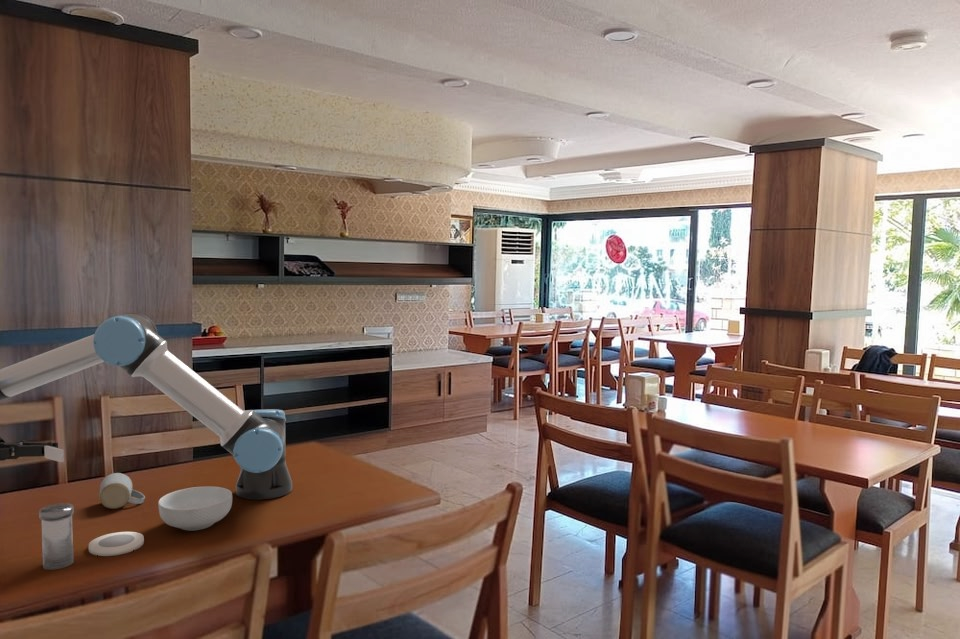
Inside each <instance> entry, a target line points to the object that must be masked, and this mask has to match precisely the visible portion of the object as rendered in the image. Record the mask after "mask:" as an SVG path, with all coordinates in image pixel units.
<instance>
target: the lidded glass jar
mask: <svg viewBox="0 0 960 639" xmlns="http://www.w3.org/2000/svg"><path fill="white" fill-rule="evenodd" d="M74 507H75V506H74V505H73V504H71V503H55V504H51V505H47V506H44V507H41V508H40V509H39V510H38V516H39V519H40V520H41V545H42V546H41V547H42V549H41V551H42V568H43V569H44V570H48V571H49V570H53V571H55V570H59V569H64V568H67V567H69V566H71V565H72V564H74V540H73V538H74V536H73V515H74V513H75V510H74Z"/></svg>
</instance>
